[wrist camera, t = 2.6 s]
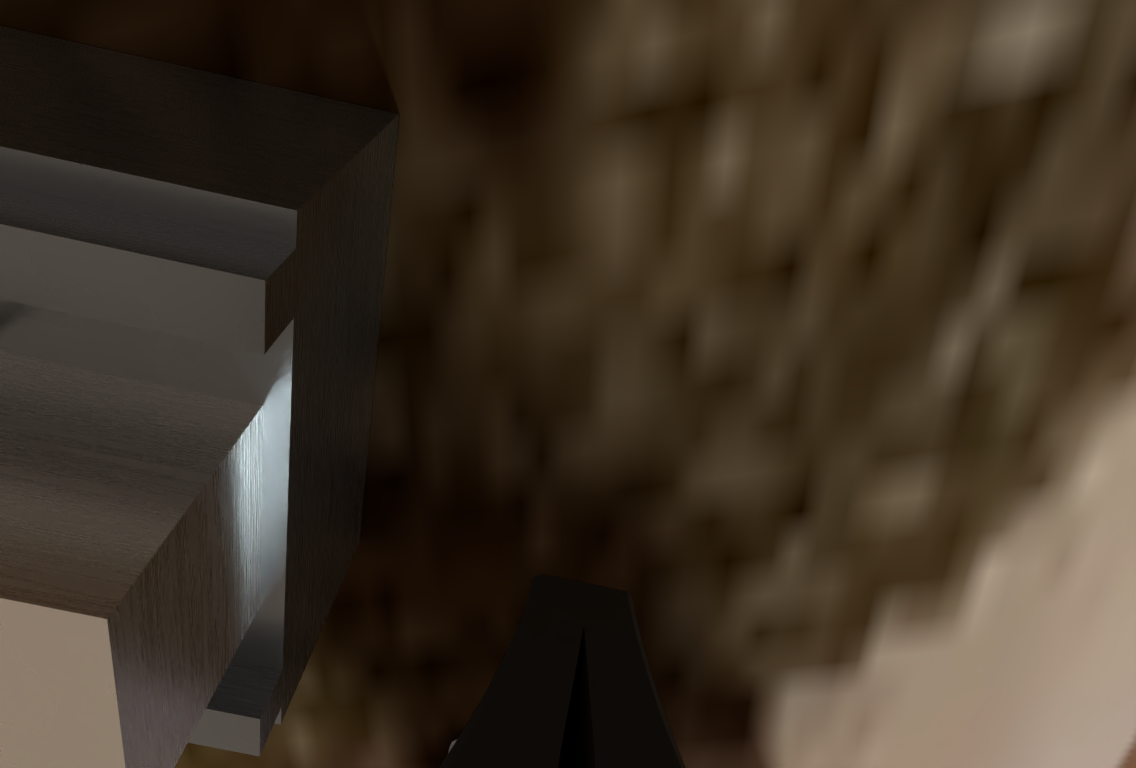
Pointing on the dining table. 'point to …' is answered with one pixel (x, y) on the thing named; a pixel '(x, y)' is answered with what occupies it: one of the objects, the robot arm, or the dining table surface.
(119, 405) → the chip
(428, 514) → the dining table surface
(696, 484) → the dining table surface
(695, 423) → the dining table surface
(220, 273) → the slot block
